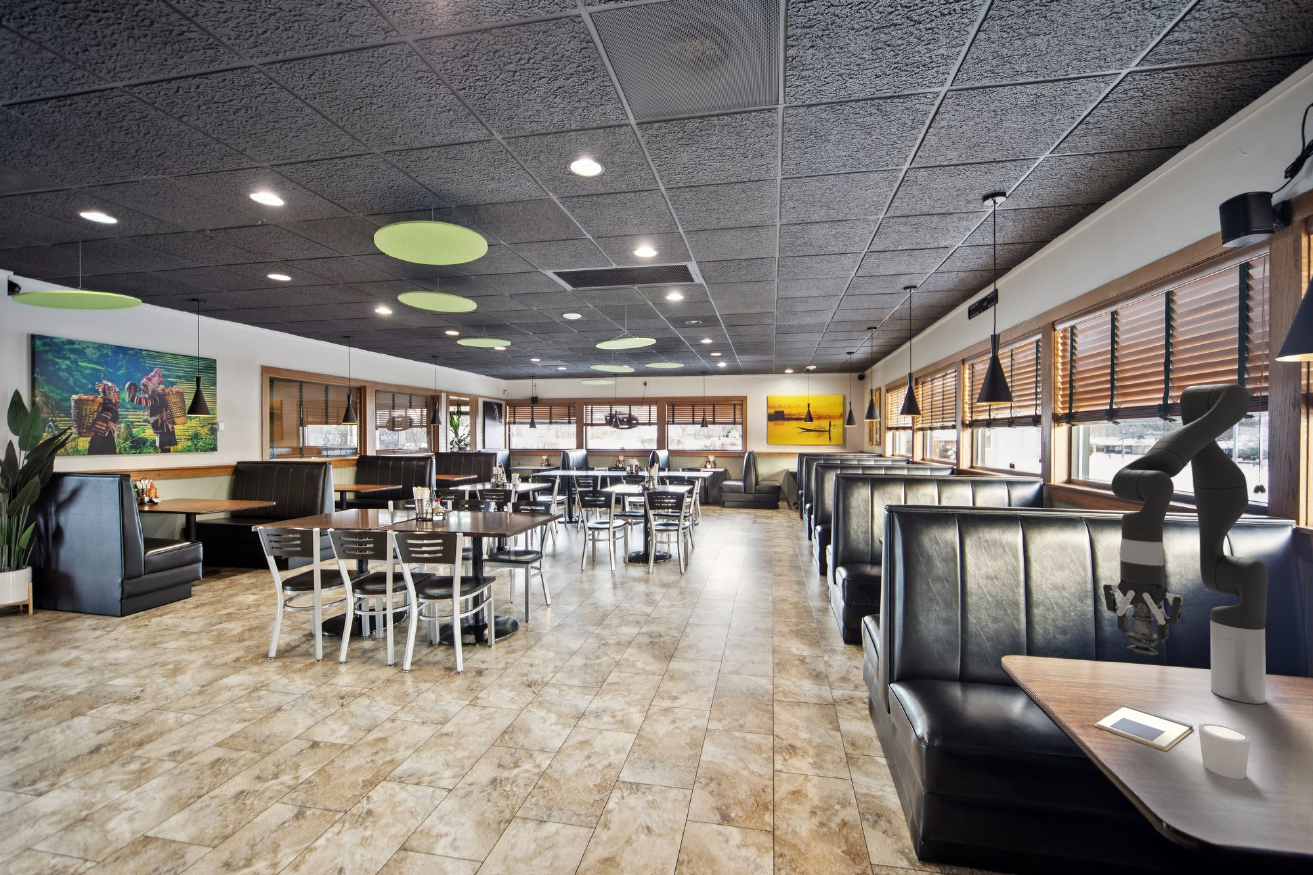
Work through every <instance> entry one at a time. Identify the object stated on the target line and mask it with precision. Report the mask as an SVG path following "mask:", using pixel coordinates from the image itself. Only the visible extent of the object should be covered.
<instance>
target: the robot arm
mask: <svg viewBox="0 0 1313 875" xmlns="http://www.w3.org/2000/svg"><path fill="white" fill-rule="evenodd" d="M1250 408H1251V396H1250V393H1249V391H1248V390H1247V388H1245V387H1244V386H1243V385H1240V384H1238V383H1237V384H1236V383H1219V384H1218V383H1217V384H1200V385H1192V386H1191V385H1190V386H1188V387H1186V388H1184V390H1183V391H1182V392H1181V394H1180V398H1179V412H1180V418H1181V422H1182V425H1183V426H1181V427H1179V428H1177V429H1174V430H1173V431H1171V432H1169V433H1167V434H1165V435H1164V436H1162V437H1161V438H1160V439H1158V440H1157V442H1155V443H1154V445H1152V447H1151V448H1149V450H1148V451H1147V452H1146V453H1145V454H1144V455H1142V456H1140V457H1139V458H1137V459H1135V460H1133V461H1132V462H1130V463H1128V464H1127V465H1125V466H1123V467H1121V469H1119V470H1118V471H1117V472H1116V473H1115V475H1114V476H1113V478H1112V479H1111V490H1112V493H1113V495H1115V496H1116V497H1117V498H1118V499H1120V500H1122V501H1128V502H1129V501H1130V502H1137V503H1138V502H1139V503H1141V502H1142V503H1143V506H1142V508H1141V509H1140V511H1129V512H1125V513H1124V514H1123V515H1122V516H1121V541H1120V549H1119V576H1120V578H1119V579H1120V581H1119V583H1118V584H1117V583H1116V584H1114V583H1110V582H1109V583H1105V584H1103V586H1102V588H1103V597H1104V599H1105V600H1104V601H1105V607H1106V609H1107V611H1109V612H1112V613H1115V614H1116V616H1117V621H1116V622H1117V629H1118V630H1119V631H1120V633H1121V634H1126V633H1125V631H1127V630H1129V615H1127V613H1128V612H1129V610H1130V609H1131V607H1132V606H1133V607H1134V606H1135V604H1136V603H1137V602H1140V603H1143V604H1145V606H1146V608H1150V609H1151V614H1153V615H1154V616H1155V618H1156V620H1157V622H1158V623H1157V625H1156V626H1157V628H1156V629H1157V630H1156V631H1157V633H1156V635H1157V640H1158V642H1161V643H1163V642H1164V641H1165V640H1167V639H1168V638H1169V636H1170V635H1169V634H1170V633H1169V630H1170V629H1169V625H1172V624H1173V625H1175V624H1177V623H1180V621H1181V618H1182V613H1183V608H1184V603H1185V596H1184V595H1183V594H1178V595H1176V594H1173V593H1169V592H1168V591H1167V589H1166V586H1165V584H1166V581H1165V579H1166V576H1165V569H1166V568H1165V567H1166V566H1165V565H1166V564H1165V563H1166V562H1165V560H1166V559H1165V556H1166V554H1165V547H1164V521H1165V519H1166V515H1167V511H1168V508H1169V506H1170V503H1171V501H1172V498H1173V495H1174V491H1175V486H1174V482H1173V480H1172V478H1175V477H1176V476H1178V475H1179V474H1180V473H1181V472H1182V470H1183V469H1184V468H1186V466H1187V465H1188V464H1189V463H1190V465H1191V473H1192V474H1191V475H1192V488H1193V496H1194V502H1195V507H1196V514H1197V523H1198V531H1199V532H1198V534H1199V570H1200V571H1199V572H1200V578H1201V582H1202V584H1203V586H1204V587H1205V588H1206V589H1207V590H1209V591H1212V592H1216V593H1220V594H1226V595H1231V596H1236V597H1240V600H1239V603H1237V604H1234V605H1226V606H1225V605H1224V606H1217V607H1216V606H1215V607H1212V608H1211V609H1210V611H1209V614H1210V615H1209V620H1210V622H1209V624H1210V629H1209V630H1210V631H1209V632H1210V691H1212V693H1214V694H1215V695H1218V696H1220V697H1222V698H1226V699H1228V700H1232V701H1237V702H1240V703H1246V704H1254V705H1260V704H1265V703H1266V700H1267V699H1266V698H1267V696H1266V695H1267V694H1266V693H1267V692H1266V691H1267V690H1266V688H1267V686H1266V685H1267V683H1266V681H1267V680H1266V678H1267V677H1266V672H1267V671H1266V670H1267V669H1266V668H1267V667H1266V619H1267V617H1266V616H1267V605H1268V604H1267V601H1268V590H1269V589H1268V586H1269V576H1268V574H1269V573H1268V570H1267V567H1266V565H1265V564H1264V562H1262V561H1261V560H1260V559H1255V558H1248V557H1247V558H1246V557H1241V556H1234V555H1229V554H1228V555H1226V554H1225V553H1224V544H1225V543H1224V542H1225V540H1226V539H1225V538H1226V536H1227V535H1228V533H1229V531H1230V530H1231V528H1233V526H1234V525H1235V524H1236V523H1237V522H1238V521H1239V520H1240V518H1242V516H1243V514H1244V513H1245V512H1246V510H1247V508H1248V505H1249V493H1248V485H1247V484H1248V483H1247V478H1246V475H1245V474H1244V472H1243V471H1242V469H1241V467H1239V466H1238V464H1237V463H1236V462H1235V461H1234V460H1233V459H1232V458H1231V457H1230V456H1229V455H1228V454H1227V453H1226V452H1225V451H1224V450H1223V449H1222V448H1221V447H1220V445H1219V444H1218V442H1217V441H1216V439H1217V438H1219V437H1220V436H1221V435H1223V434H1224V433H1226V432H1227V431H1229V430H1230V429H1231V428H1232V427H1234V426H1235V425H1237V424H1238V423H1239V422H1241V421H1242V420H1243V419H1244V418H1245V417H1246V415H1247V414H1248V412H1249V410H1250ZM1118 591H1119V592H1120V593H1121V594H1122V596H1123V597H1124V598H1123V600H1122V601H1121V603H1120V604H1119V606H1118V604H1117V599H1116V594H1117V593H1118ZM1165 599H1167V600H1168V603H1169V604H1170V605H1171V607H1170V608H1171V609H1170V613H1169V616H1168V615H1167V614H1166V611H1165V608H1164V606H1163V604H1162V602H1163V601H1165Z"/></svg>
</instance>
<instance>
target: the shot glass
mask: <svg viewBox="0 0 1313 875" xmlns="http://www.w3.org/2000/svg"><path fill="white" fill-rule="evenodd" d="M1197 728H1198V734H1199V744H1200V750H1201V757H1202V765H1203V766H1204V768H1205V769H1207V770H1209V772H1210V771H1211V772H1212V773H1215V774H1217V775H1219V776H1223V777H1226V778H1231V779H1236V780H1237V779H1238V780H1243V779H1246V777H1247V771H1248V763H1249V756H1250V755H1249V753H1250V746H1251V738H1250V736H1248V734H1246V733H1244V732H1242V731H1239V730H1236V729H1235V728H1232V727H1229V726H1225V725H1220V724H1215V723H1202V724H1201V723H1200V724H1199V725H1198V727H1197Z"/></svg>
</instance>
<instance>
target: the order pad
mask: <svg viewBox="0 0 1313 875" xmlns="http://www.w3.org/2000/svg"><path fill="white" fill-rule="evenodd" d="M1093 727H1096V728H1098V729H1100V730H1104V731H1106V732H1110V733H1111V734H1115V735H1118V736H1121V737H1123V738H1126V739H1130V740H1132V741H1135V742H1138V743H1140V742H1141V744H1143V745H1146V744H1147V746H1150V747H1152V748H1155V749H1158V750H1160V751H1164V752H1168V751H1170V749H1172V748H1173V747H1175V746H1176V745H1177V744H1178V743H1180V742H1181V741H1182V740H1183V739H1185V738H1186V737H1187V736H1188V735H1190V734H1191V733H1192V732H1194V731H1195V728H1194V725H1192V724H1190V723H1186V722H1183V721H1180V720H1176V719H1173V718H1170V717H1167V716H1164V715H1161V714H1158V713H1155V712H1151V711H1148V710H1144V709H1141V708H1138V707H1135V706H1133V705H1129V704H1126V703H1125V704H1123V705H1122V707H1121V708H1120V709H1118V710H1116V711H1114V712H1112V713H1111V714H1109V715H1108V716H1106V717H1104V718H1102V719H1100V721H1099V720H1098V722H1096V723H1094V724H1093Z"/></svg>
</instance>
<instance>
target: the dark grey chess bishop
mask: <svg viewBox="0 0 1313 875" xmlns="http://www.w3.org/2000/svg"><path fill="white" fill-rule="evenodd" d="M1131 617H1133V625H1132V628H1131V629H1128V630H1127V631H1125V633H1124V634H1126V637H1127V639H1128V641H1129V642H1130V643H1131V644H1130V645H1127V647H1126V650H1129V651H1130V652H1134V653H1137V654H1142V655H1147V656H1158V655H1159V652H1158V651H1157V650H1155V649H1154V647H1156V646H1157V645H1158V643H1159V641H1158V640H1157V633H1156V634H1155V633H1154V632H1153V628H1152V620H1154V618H1153V617H1152V611H1151V609H1150V608H1146V606H1145V604H1143V603H1140V602H1137V603H1136V604H1135V606H1134V605H1133V614H1132V615H1131Z"/></svg>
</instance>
